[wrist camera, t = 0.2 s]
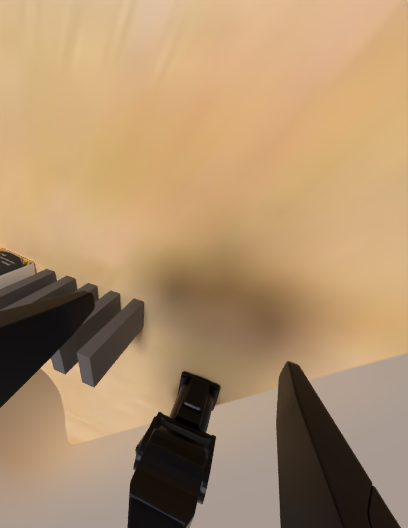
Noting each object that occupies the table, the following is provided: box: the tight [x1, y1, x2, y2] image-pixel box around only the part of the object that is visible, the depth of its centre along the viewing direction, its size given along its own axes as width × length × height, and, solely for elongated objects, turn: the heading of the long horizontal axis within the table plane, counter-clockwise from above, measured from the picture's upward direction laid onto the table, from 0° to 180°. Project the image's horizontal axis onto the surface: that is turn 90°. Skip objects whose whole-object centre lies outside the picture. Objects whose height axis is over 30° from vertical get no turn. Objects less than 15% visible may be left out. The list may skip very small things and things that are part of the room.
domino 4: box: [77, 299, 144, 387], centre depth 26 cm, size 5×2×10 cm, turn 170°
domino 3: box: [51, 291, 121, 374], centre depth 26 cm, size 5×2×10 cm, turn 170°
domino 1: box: [0, 269, 57, 310], centre depth 29 cm, size 5×2×10 cm, turn 170°
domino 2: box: [0, 276, 77, 311], centre depth 28 cm, size 5×2×10 cm, turn 170°
